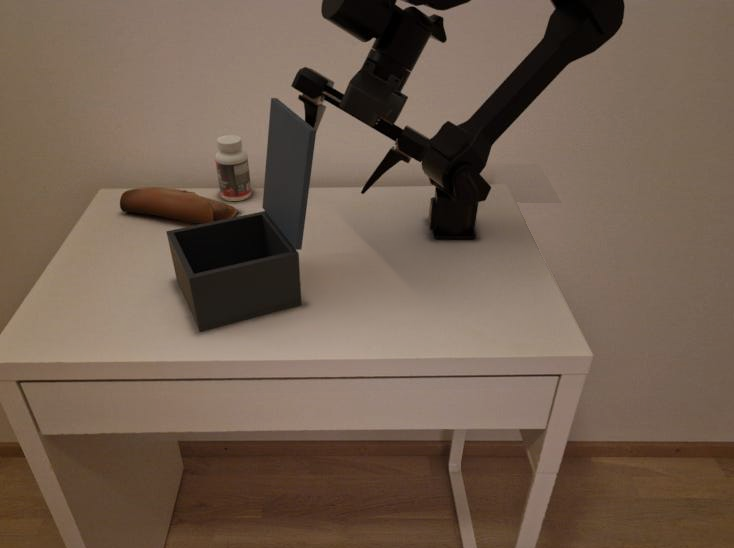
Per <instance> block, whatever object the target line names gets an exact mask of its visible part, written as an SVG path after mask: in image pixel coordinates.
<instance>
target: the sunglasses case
mask: <svg viewBox="0 0 734 548" xmlns="http://www.w3.org/2000/svg"><path fill="white" fill-rule="evenodd" d="M119 208H120V210H121V212H123V213H131V214H132V213H134V214H135V213H136V214H145V215H154V216H157V217H162V218H167V219H174V220H179V221H183V222H186V223H193V224H196V225H199V224H204V223H209V222H214V221H219V220H224V219H228V218H233V217H236V216H237V214H239V209H238V208H236V207H234V206H233V205H231V204H228V203H225V202H223V201H219V200H216V199H212V198H209V197H205V196H201V195H199V194H198V193H196V192H195V191H190V190H189V191H187V189H178V188H167V187H156V186H155V187H139V188H133V189H128V190H126V191H124V192H123V193H122V194H121V196H120V198H119Z"/></svg>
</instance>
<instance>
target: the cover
mask: <svg viewBox="0 0 734 548" xmlns="http://www.w3.org/2000/svg"><path fill="white" fill-rule="evenodd" d="M316 136H317V132H316V130H315V129H314V128H313V127H311V126H310V125H309V124H308V123H307V122H305V119H303V118H302V117H301V116H299V115H298V114H297V113H296V112H295V111H293V110H292V109H291V108H290V107H289V106H288V105H286V104H285V103H283V102H282V101H281V100H280V99H279V98H277V97H271V98H270V108H269V121H268V131H267V146H266V159H265V171H264V183H263V197H262V209H263V211H265V212H266V213H267V214H268V215H269V217H270V218H271V219H272V220H273V222H274V223H275V224H276V225H277V227H278V228H279V229H280V231H281V232H282V233H283V234H284V236H285V237H286V238H287V239H288V241H289V242H290V243H291V244H292V246H293V247H294V248H295V250H296V251H298V250H299V251H300V250H302V248H303V242H304V241H303V240H304V232H305V226H306V225H305V224H306V217H307V208H308V199H309V193H310V183H311V176H312V169H313V160H314V154H315V145H316Z"/></svg>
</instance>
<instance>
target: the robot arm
mask: <svg viewBox="0 0 734 548" xmlns="http://www.w3.org/2000/svg"><path fill="white" fill-rule="evenodd" d="M397 1H398V0H322V2H321V7H320V9H321V11H320V12H321V16H322V18H323V19H324V20H326V21H328V22H329V23H331V24H332V25H334V26H336V27H337V28H338V29H340V30H343V31H344V32H345V33H347V34H349V35H350V36H352V37H353V38H355V39H356V40H358V41H359V42H361V43H367V42H370V41H371V40H373V39H375V40H374V41H373V44H372V46H371V48H370V50H369V51H368V54H367V56H366V58H365V60H364V62H363V64H362V66H361V67H360V69H359V70H358V71H357V72H356V73H355V74H354V75H353V76H352V78H351V79H350V80H349V82H348V84H347V87H346V88H345V91H344V93H342V92H341V91H339V90H338V89H336V88H334V87H335V81H334V80H332V79H330V78H328V77H327V76H325V75H323V74H321V73H320V72H318V71H317V70H314V69H313V68H310V67H307V66H304V67H301V68H299V69H298V71H297V72H296V74H295V76H294V78H293V81H292V82H291V85H290V86H291V87H292V88H293V89H294V90H295V91H297V92H299V93H300V94H298V97H297V99H298V100H299V101H300V102H302V103H303V109H304V121H305V122H307V123H308V124H309V125H310V126H311V127H313V128H314V129H315V130H316V133H317V132H318V130H319V127H320V124H321V121H322V119H323V118H324V114H325V112H326V109H327V106H326V105H325V104H324V103H326V102H327V103H329V104H331V105H332V106H334V107H335V108H337V109H339V110H341V111H342V112H344V113H345V114H348V115H349V116H350V117H352V118H355V119H356V120H358V121H359V122H361V123H363V124H364V125H367V126H368V127H370V128H371V129H373V130H374V131H376V132H378V133H380V134H382V135H383V136H385V137H386V138H388V139H390V140H391V141H393V142H394V146H393V145H392V146H391V147H390V148H389V150H388V151H387V152H386V154H385V155H384V157H383V158H382V159H381V161H380V163H379V164H378V165H377V167H376V168H375V169H374V171H373V173H372V174H371V175H370V177H369V178H368V179H367V181H366V182H365V184H364V186H363V188H362V189H361V191H360V194H361V195H365V194H366V192H367V191H368V190H369V189H371V187H373V185H374V184H376V182H377V181H378V180H379V179H381V177H382V176H383V175H384V174H385V173H387V172H388V171H389V170H390V169H392V168H393V167H394V166H395V165H397V164H399V163H400V162H402V161H403V163H406V164H409V163H410V162H411V160H412V159H414V160H415V161H416V162H419V163H421V169H422V171H423V173H424V175H426V176H427V178H428V180H429V184H430V185H432V186H434V187H435V188H434V197H431V198H430V200H429V201H430V202H429V209H428V221H427V222H428V227H429V230H431V233H432V237H433V239H436V240H437V239H439V240H442V239H446V240H449V239H450V240H474V239H477V233H476V229H475V228H476V221H477V216H478V209H479V204H480V202H481V203H482V202H485V201H486V200H487V198H488V196H489V195H490V192H491V189H492V186H491V184H489V183H488V182H487V180H486V179H485V178H484V177H483V176H482V175H481V174H482V173H483V171H484V169H485V168H486V166H487V163H488V160H489V158H490V153H491V150H492V148H493V145H494V144H495V143H496V142H497V141H498V140H499V138H501V136H502V135H503V134H504V133H505V132H506V131H507V130H508V129H509V128H510V127H511V126H512V125H513V124H514V123H515V122H516V120H518V119H519V118H520V117H521V115H522V114H523V113H524V112H525V111H526V110H527V109H528V108H529V107H530V106H531V105H532V104H533V102H535V100H536V99H537V98H539V96H540V95H541V94H542V93H543V92H544V91H545V90H546V89H547V88H548V86H549V85H551V83H552V82H554V80H556V78H557V77H558V76H559V75H560V74H561V73H562V72H563V71H564V70H565V69H566V67H568V65H570V64H571V63H573V62H575V61H578V60H580V59H582V58H585V57H586V56H589V55H591V54H593V53H595V52H596V51H597V50H599V49H600V48H601V47H602V46H603V45H605V44H606V43H607V42H608V41H610V40H611V39H612V38H614V36H615V35H616V34H617V33H618V32H619V30H620V29H621V27H622V25H623V23H624V21H623V20H624V17H625V9H626V8H625V7H626V6H625V1H624V0H549V2H550V3H551V5H552V6H553V8H554V10H553V11H552V12H551V14H550V16H549V19H548V21H547V26H546V28H545V31H544V35H543V37H542V38H541V40H540V41H539V42H538V43H537V44H536V45H535V46H534V48H533V49H532V50H531V51H530V52H529V53H528V54H527V55H526V56H525V57H524V58H523V60H521V62H520V63H519V64H518V65H517V66H516V67H515V68H514V69H513V70H512V71H511V73H509V75H508V76H506V78H505V79H504V80H503V81H502V82H501V84H500V85H499V86H498V87H497V88H496V89H495V90H494V91H493V92H492V93H491V94H490V96H489V97H488V98H487V99H486V100H485V101H484V102H483V103H482V104H481V105H480V106H479V107H478V108H477V110H476V111H475V112H474V113H473V114H472V115H471V116H470V117H469V118H468V119H467V120H465V121H464V122H461V123H459V124H455V123H453V122H452V121H450V120H446V121H445V123H443V124H442V125H441V127H440V128H439V130H438V131H437V132H436V133H435V134H434V135H433V136H432V137H431V138H429V137H428V136H427V135H425V134H423V133H421V132H419V131H418V130H416V129H414V128H412V127H410V126H409V125H405V126H404V128H402V127H400V126H399V125H397V124H395V123H396V122H397V121H398V119H399V117H400V115H401V113H402V111H403V109H404V108H405V105H406V103H407V101H408V99H409V95H406V94H404V93H402V91H403V89H404V88H405V86H406V84H407V82H408V80H409V78H410V76H411V74H412V72H413V70H414V68H415V66H416V64H417V63H418V61H419V59H420V57H421V55H422V53H423V52H424V49H425V48H426V46H427V44H428V42H429V40H430V38H431V39H432V40H435V41H437V42H440V43H442V44H445V43H446V42H447V38H448V37H447V33H446V30H445V26H444V25H445V24H444V21H445V19H444V17H443V16H441V15H438V14H436V13H433V14H431V15H429V16H428V15H427V14H426V13H424V12H423V11H422V10H420V9H419V8H418V7H419V6H424V7H427V8H430V9H432V10H435V11H441V12H442V11H443V12H444V11H448V10H451V9H453V8H456V7H459V6H461V5H464V4H468V3H470V2H471V1H472V0H400V1H401V2H404V3H407V4H409V5H412V6H407V7H405V8H402V7H400V6H398V5H397Z"/></svg>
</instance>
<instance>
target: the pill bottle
mask: <svg viewBox="0 0 734 548" xmlns="http://www.w3.org/2000/svg"><path fill="white" fill-rule="evenodd" d="M216 147H217V150H218V151H217V152H216V153H215V156H214V159H215V168H216V173H217V181H218V185H219V186H218V188H219V192H220V197H221V198H222V199H223V200H226V201H230V202H239V201H245V200H246V199H248V198H249V197H251V196H252V183H251V175H250V165H249V156H248V152H247V151H246V150H245V149H243V141H242V138H241V136H239V135H236V134H225V135H221V136H219V137H218V138H216Z"/></svg>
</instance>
